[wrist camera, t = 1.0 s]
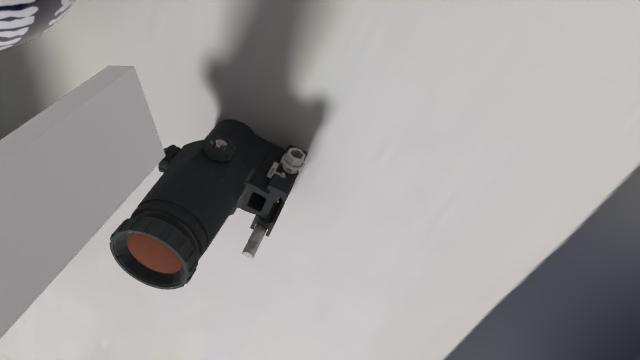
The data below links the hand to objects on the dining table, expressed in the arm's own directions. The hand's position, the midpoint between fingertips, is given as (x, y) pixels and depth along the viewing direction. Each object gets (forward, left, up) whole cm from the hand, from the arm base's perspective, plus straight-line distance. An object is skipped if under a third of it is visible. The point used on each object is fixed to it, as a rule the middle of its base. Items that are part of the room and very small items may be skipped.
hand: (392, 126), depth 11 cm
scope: (-13, -16, -21) cm, 29 cm away
